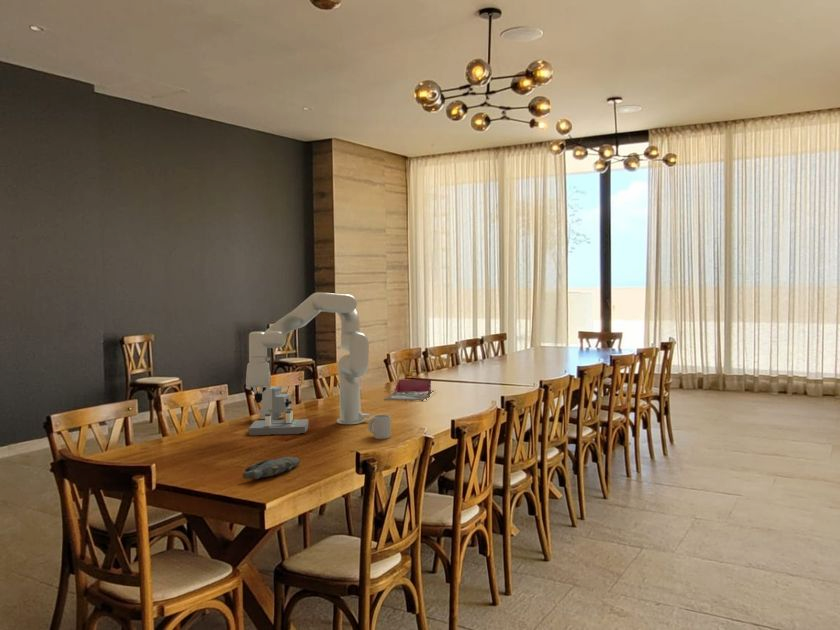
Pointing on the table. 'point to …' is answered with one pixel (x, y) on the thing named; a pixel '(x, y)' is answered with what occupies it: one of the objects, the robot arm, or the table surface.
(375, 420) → the cup
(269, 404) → the circuit breaker
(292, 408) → the back lever
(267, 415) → the lever
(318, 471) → the table surface
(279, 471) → the grey rough slab
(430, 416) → the table surface
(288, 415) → the middle lever
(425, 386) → the open laptop
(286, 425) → the switch panel
